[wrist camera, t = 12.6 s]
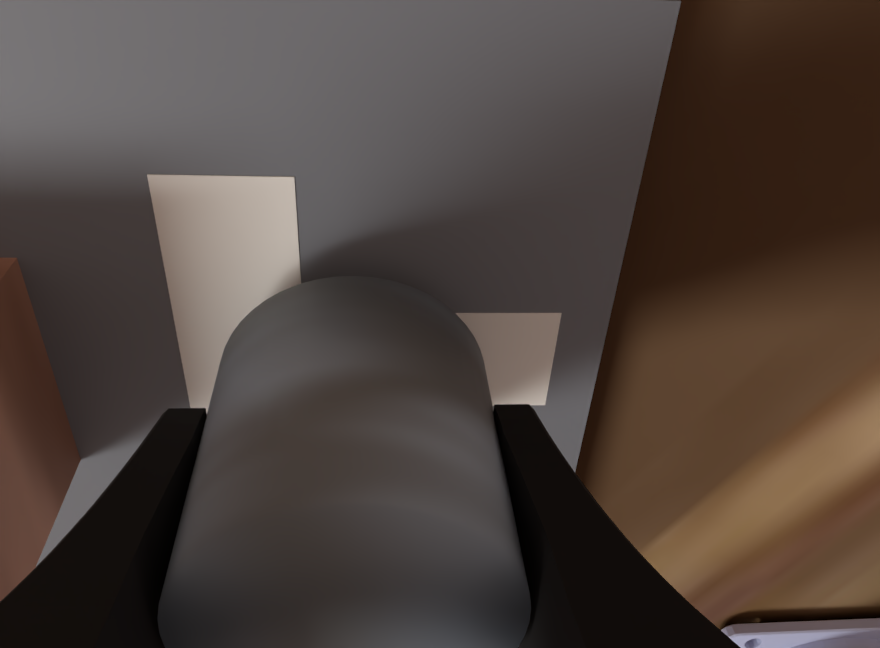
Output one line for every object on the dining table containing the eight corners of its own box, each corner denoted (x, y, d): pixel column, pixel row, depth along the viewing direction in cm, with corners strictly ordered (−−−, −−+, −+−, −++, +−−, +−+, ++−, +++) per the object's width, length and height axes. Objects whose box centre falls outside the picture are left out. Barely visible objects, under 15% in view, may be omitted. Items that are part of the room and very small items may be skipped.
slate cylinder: (498, 277, 13) (557, 500, 9) (473, 477, 16) (508, 713, 12) (203, 273, 13) (126, 506, 9) (232, 480, 16) (184, 727, 11)
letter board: (660, -14, 12) (681, 1, 12) (545, 539, 20) (552, 571, 20) (-575, -65, 11) (-654, -51, 10) (-166, 560, 19) (-190, 596, 18)
